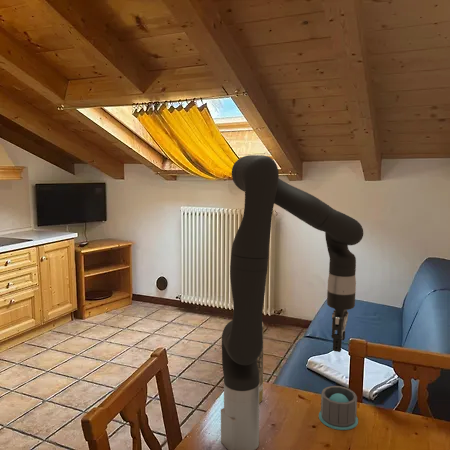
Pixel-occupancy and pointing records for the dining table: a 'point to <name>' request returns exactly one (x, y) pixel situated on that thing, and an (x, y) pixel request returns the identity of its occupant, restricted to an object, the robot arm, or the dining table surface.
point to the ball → (339, 398)
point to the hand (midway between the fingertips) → (338, 345)
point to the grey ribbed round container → (338, 409)
